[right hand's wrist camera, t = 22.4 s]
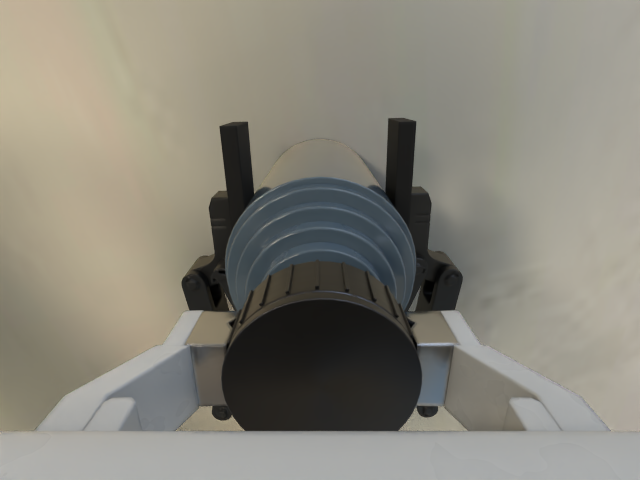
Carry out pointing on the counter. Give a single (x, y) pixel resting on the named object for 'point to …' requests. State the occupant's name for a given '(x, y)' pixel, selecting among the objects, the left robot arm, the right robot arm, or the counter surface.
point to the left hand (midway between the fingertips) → (317, 122)
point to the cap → (321, 354)
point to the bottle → (320, 222)
